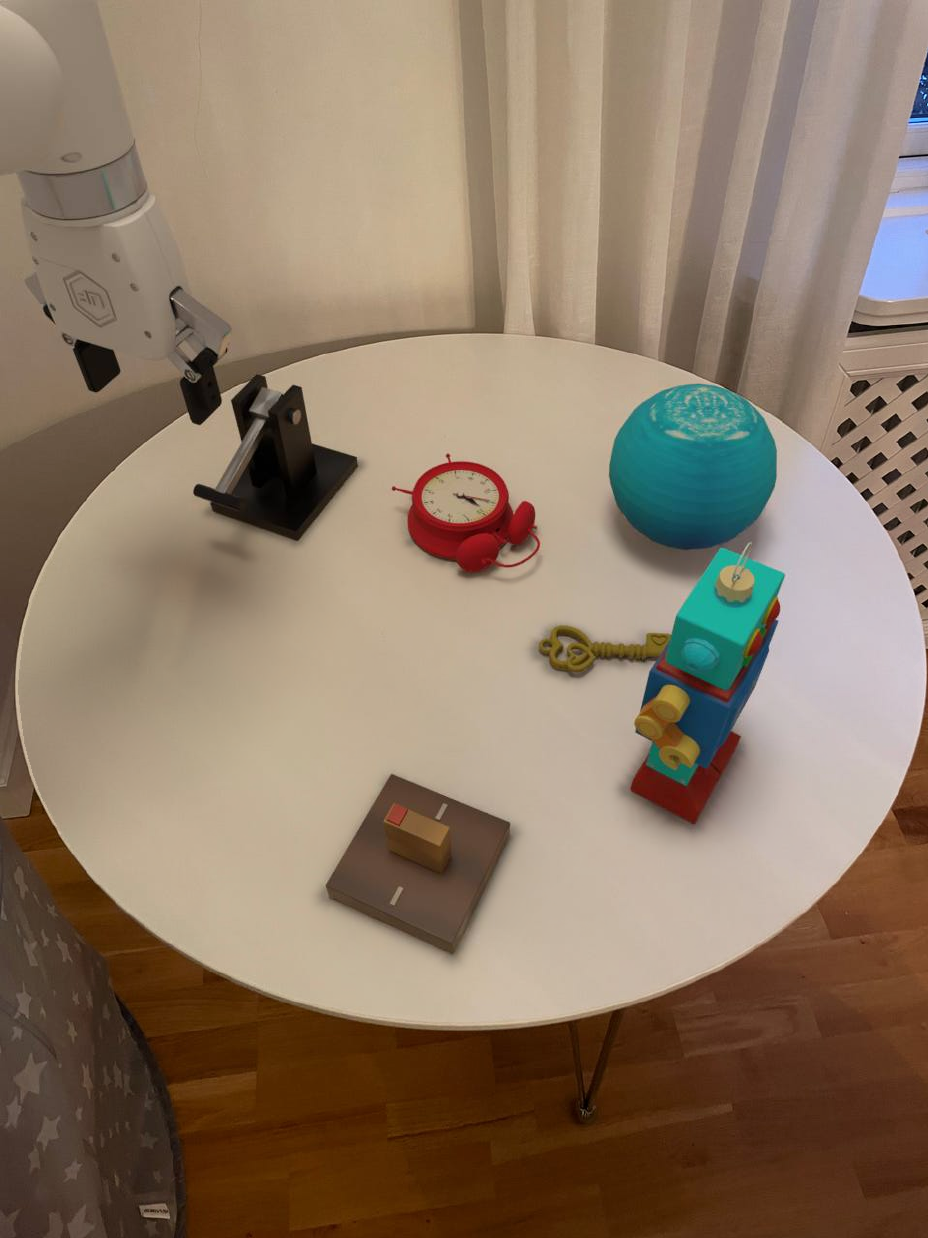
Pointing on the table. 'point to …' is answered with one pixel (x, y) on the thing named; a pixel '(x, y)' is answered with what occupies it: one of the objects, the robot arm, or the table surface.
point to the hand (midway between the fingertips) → (155, 397)
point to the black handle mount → (284, 466)
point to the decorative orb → (693, 466)
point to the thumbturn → (418, 838)
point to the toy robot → (705, 681)
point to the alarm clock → (467, 515)
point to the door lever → (242, 454)
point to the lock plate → (420, 867)
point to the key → (597, 648)
